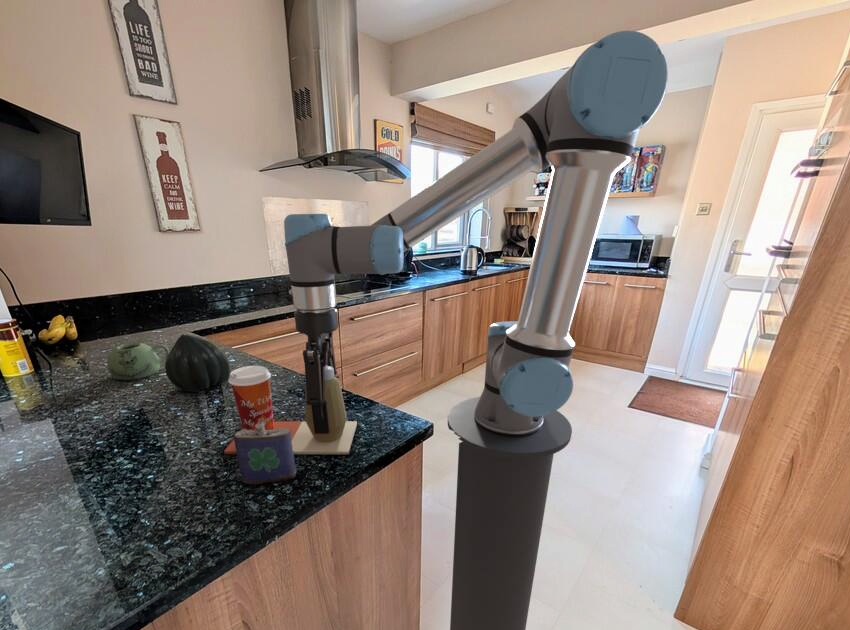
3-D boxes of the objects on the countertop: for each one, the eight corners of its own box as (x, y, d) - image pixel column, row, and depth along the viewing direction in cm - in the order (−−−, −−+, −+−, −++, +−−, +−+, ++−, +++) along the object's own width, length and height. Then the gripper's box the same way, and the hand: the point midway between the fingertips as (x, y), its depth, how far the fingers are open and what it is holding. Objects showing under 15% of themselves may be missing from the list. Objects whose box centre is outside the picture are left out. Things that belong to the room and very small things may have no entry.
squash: (235, 372, 100) (217, 322, 103) (169, 387, 93) (153, 333, 96) (235, 391, 112) (219, 346, 115) (177, 406, 105) (162, 357, 108)
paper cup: (249, 449, 75) (236, 382, 70) (234, 435, 80) (221, 371, 75) (287, 435, 80) (277, 371, 74) (270, 422, 85) (260, 361, 80)
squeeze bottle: (336, 422, 85) (328, 342, 78) (355, 437, 79) (349, 352, 72) (301, 433, 80) (290, 350, 73) (318, 450, 74) (308, 361, 67)
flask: (297, 470, 70) (289, 417, 65) (295, 480, 67) (286, 426, 63) (244, 474, 69) (232, 421, 64) (239, 485, 66) (227, 430, 62)
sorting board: (357, 423, 85) (356, 421, 85) (348, 454, 74) (348, 451, 74) (248, 423, 86) (248, 421, 86) (224, 454, 75) (223, 451, 75)
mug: (110, 386, 107) (100, 356, 104) (111, 372, 117) (102, 344, 114) (175, 373, 115) (168, 345, 112) (171, 361, 125) (164, 335, 122)
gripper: (308, 297, 79) (319, 399, 88) (275, 323, 60) (293, 450, 69) (345, 297, 79) (352, 399, 88) (324, 323, 60) (335, 450, 69)
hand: (326, 421), depth 78 cm, fingers closed on squeeze bottle, 8 cm apart
